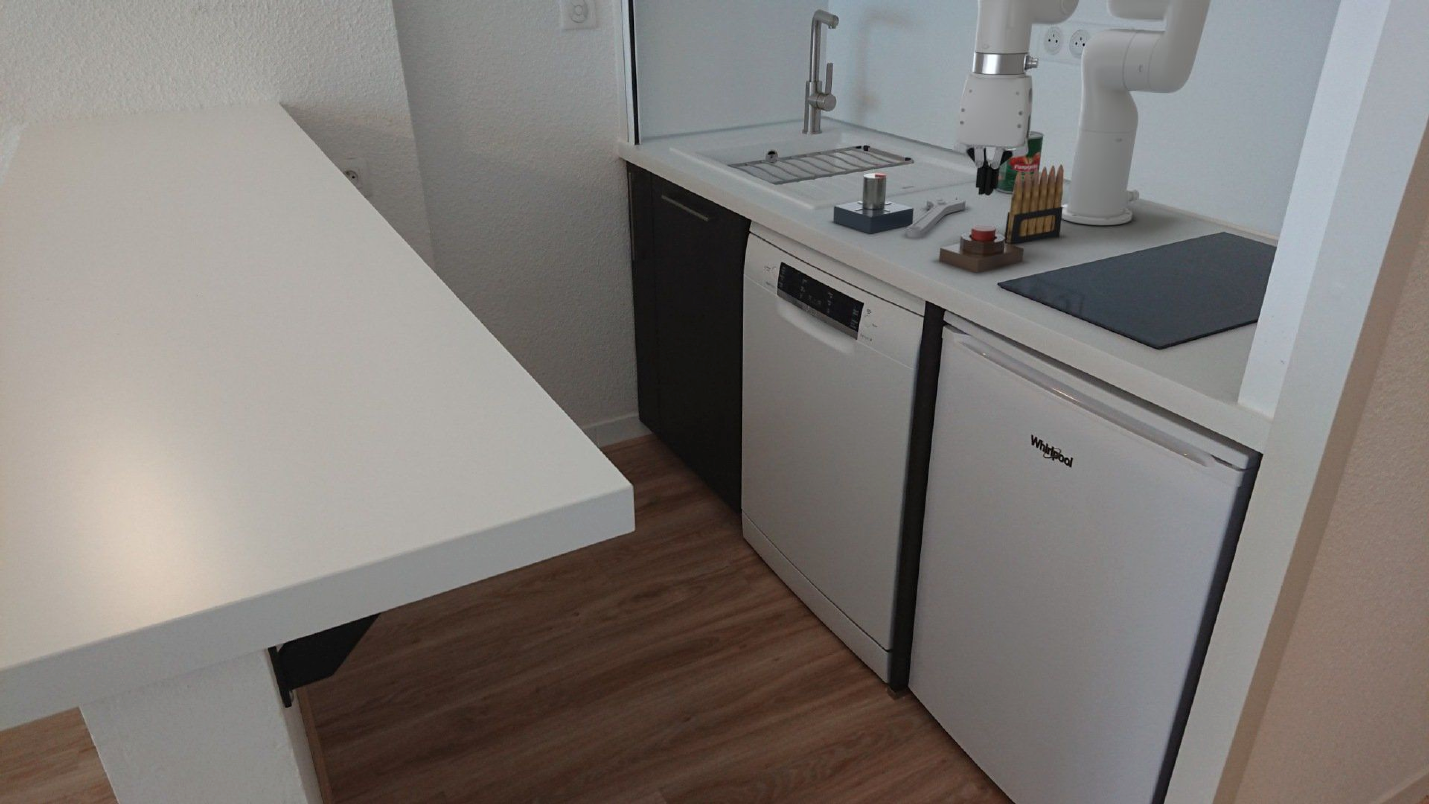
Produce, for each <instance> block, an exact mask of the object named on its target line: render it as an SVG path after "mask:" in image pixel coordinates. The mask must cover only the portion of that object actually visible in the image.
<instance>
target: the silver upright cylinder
mask: <svg viewBox="0 0 1429 804" xmlns="http://www.w3.org/2000/svg"><path fill="white" fill-rule="evenodd" d="M887 178H888V177H887V174H884V173H879V172H877V173H876V172H875V173H873V172H872V173H871V172H870V173H865V174H863V179H862V198H861V199H862V200H861V201H862V207H863V208H866V209H882V208H884V207H885V200H886V191H887Z"/></svg>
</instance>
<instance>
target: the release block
mask: <svg viewBox="0 0 1429 804" xmlns="http://www.w3.org/2000/svg"><path fill="white" fill-rule="evenodd" d="M1004 236H1005V235H1003V234H1001V233H997V232H996V233H995V240H988V241H982V240H975V239H971V231H968V232H963V233H962V234H961V235H960V241H959V243H955V244H950V245H947V246H942V247H940V248H939V257H938V258H939V259H938V261H939V262H941V263H944V264H947V265H950V266H953V267H957V268H959V269H962V270H965V271H968V272H972V273H974V274H982V273H984V272H988V271H992V270H996V269H1001V268H1004V267H1007V266H1010V265H1011V266H1012V265H1015V264H1018V263H1023V261H1024V260H1023V259H1024V250H1025V249H1024V248H1023V247H1021V246H1017V245H1015V244H1014V245H1010V244H1007V243H1005V237H1004Z"/></svg>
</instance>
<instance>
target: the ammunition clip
mask: <svg viewBox="0 0 1429 804" xmlns="http://www.w3.org/2000/svg"><path fill="white" fill-rule="evenodd" d="M1030 184H1031V187H1030ZM1063 187H1064V166H1063V164H1060V165H1059V167H1058V168H1057V171H1056V168H1055V165H1052V166H1051V167H1050V169H1049V172H1048V170H1047V167H1046V166H1043V168H1042V171H1041V173H1040V170H1039V171H1038V168H1036V169H1035V171H1034V174H1033V177H1032V182H1031V175H1030V170H1029V169H1028V170H1027V172H1026V174H1025V177H1024V181H1023V187H1022V173H1021V171H1019V172H1018V174H1017V176H1016V180H1015V185H1014V190H1013V194H1012V196H1011V199H1010V207H1009V212H1007V215H1006V216H1007V217H1006V223H1005V230H1004V235H1003V236H1004V237H1005V243H1007V244H1010V245H1014V246H1015V245H1020V244H1024V243H1030V242H1035V241H1036V242H1037V241H1041V240H1047V239H1052V238H1058V237H1059V238H1060V235H1061V227H1062V220H1063V219H1062V209H1063V207H1061V206H1062V201H1063V195H1064V194H1063V192H1064V188H1063Z"/></svg>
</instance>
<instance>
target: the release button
mask: <svg viewBox="0 0 1429 804" xmlns="http://www.w3.org/2000/svg"><path fill="white" fill-rule="evenodd" d="M970 232H971V239H975V240H982V241H988V240H995V233H997V228H996V227H994V226H992V225H987V224H986V225H985V224H979V225H974V226H972V227H971V231H970Z"/></svg>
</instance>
